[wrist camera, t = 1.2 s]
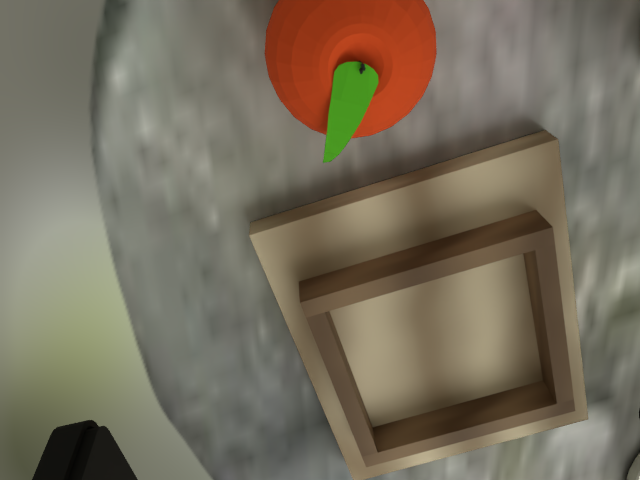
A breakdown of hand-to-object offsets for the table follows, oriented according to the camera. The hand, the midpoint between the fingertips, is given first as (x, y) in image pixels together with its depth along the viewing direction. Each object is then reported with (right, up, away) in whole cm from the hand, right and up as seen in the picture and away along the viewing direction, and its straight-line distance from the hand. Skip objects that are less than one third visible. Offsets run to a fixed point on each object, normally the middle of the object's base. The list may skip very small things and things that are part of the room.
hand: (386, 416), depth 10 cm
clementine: (0, +12, +17) cm, 20 cm away
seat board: (+6, -2, +24) cm, 25 cm away
